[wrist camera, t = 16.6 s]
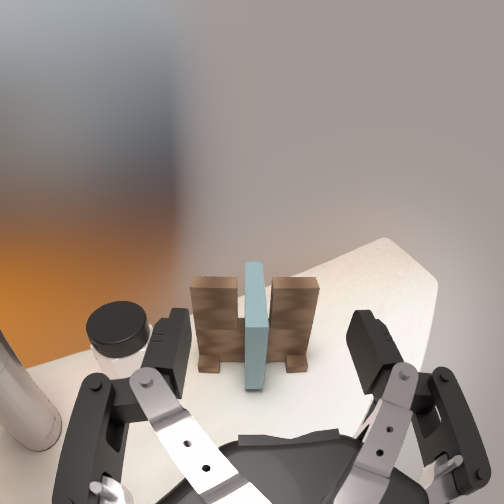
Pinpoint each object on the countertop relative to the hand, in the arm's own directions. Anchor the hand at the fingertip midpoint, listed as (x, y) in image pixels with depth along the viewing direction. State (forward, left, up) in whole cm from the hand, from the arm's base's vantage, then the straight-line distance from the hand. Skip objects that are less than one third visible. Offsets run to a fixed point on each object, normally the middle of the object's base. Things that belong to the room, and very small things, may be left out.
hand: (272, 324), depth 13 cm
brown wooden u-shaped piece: (0, +19, -24) cm, 31 cm away
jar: (-17, +13, -25) cm, 33 cm away
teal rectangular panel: (0, +19, -23) cm, 30 cm away
